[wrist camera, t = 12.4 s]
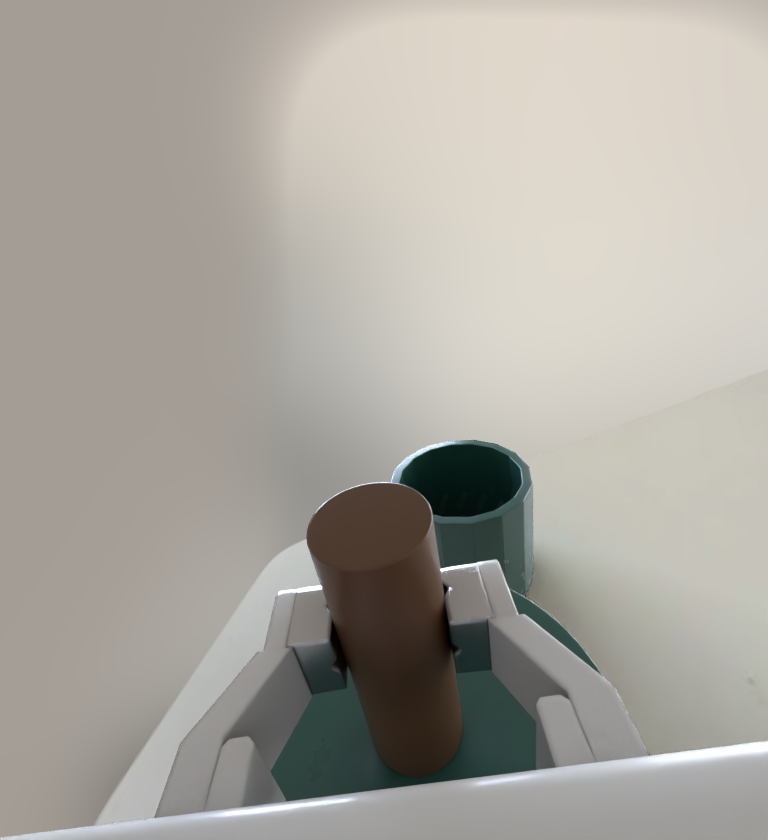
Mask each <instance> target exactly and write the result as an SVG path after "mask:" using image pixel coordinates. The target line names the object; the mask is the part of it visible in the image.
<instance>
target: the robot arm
mask: <svg viewBox="0 0 768 840" xmlns="http://www.w3.org/2000/svg"><path fill="white" fill-rule="evenodd" d="M441 575H442V582H443V589H444V596H445V597H444V601H445V608H446V615H447V622H448V627H449V636H450V642H451V649H452V654H453V659H454V664H455V669H456V674H458V673H467V672H477V671H486V670H492V672H493V673H494V674H495V676H496V677H497V678H498V679H499V680H500V681H501V682H502V684H503V685H504V686H505V687H506V688H507V689H508V690H509V692H510V693H511V694H512V695H513V696H514V697H515V698H516V700H517V701H518V702H519V703H520V704H521V705H522V706H523V708H524V709H525V710H526V711H527V712H528V713H529V714H530V716H531V717H532V718H533V719H534V720H535V721H536V769H537V770H532V771H524V772H516V773H508V774H500V775H492V776H484V777H476V778H469V779H461V780H453V781H445V782H437V783H429V784H421V785H413V786H405V787H397V788H389V789H381V790H373V791H365V792H357V793H349V794H341V795H334V796H326V797H318V798H310V799H302V800H294V801H286V798H285V797H284V795H283V793H282V791H281V790H280V788H279V786H278V784H277V783H276V781H275V779H274V777H273V776H272V774H271V772H270V771H271V769H272V767H273V766H274V764H275V762H276V760H277V759H278V757H279V755H280V753H281V752H282V750H283V748H284V746H285V745H286V743H287V741H288V739H289V738H290V736H291V734H292V732H293V730H294V729H295V727H296V725H297V723H298V722H299V720H300V718H301V716H302V715H303V713H304V711H305V709H306V708H307V706H308V704H309V702H310V701H311V699H312V694H318V693H324V692H330V691H336V690H342V689H347V671H348V665H347V662H346V659H345V656H344V653H343V650H342V647H341V644H340V641H339V638H338V635H337V632H336V629H335V626H334V623H333V620H332V617H331V614H330V611H329V608H328V605H327V602H326V599H325V596H324V593H323V590H322V587H321V586H316V587H308V588H299V589H294V590H286V591H279V593H278V594H277V596H276V598H275V603H274V607H273V611H272V616H271V620H270V624H269V628H268V633H267V637H266V641H265V646H264V650H263V651H260V652H257V653H256V654H255V655H254V657H253V658H252V659H251V660H250V661H249V662H248V664H247V665H246V666H245V667H244V668H243V670H242V671H241V672H240V673H239V674H238V675H237V677H236V678H235V679H234V680H233V681H232V683H231V684H230V685H229V686H228V687H227V688H226V690H225V691H224V692H223V693H222V694H221V696H220V697H219V698H218V699H217V700H216V701H215V703H214V704H213V705H212V706H211V707H210V709H209V710H208V711H207V712H206V713H205V714H204V716H203V717H202V718H201V719H200V720H199V722H198V723H197V724H196V725H195V726H194V728H193V729H192V730H191V731H190V732H189V733H188V735H187V736H186V737H185V738H184V739H183V741H182V742H181V743H180V745H179V748H178V751H177V754H176V757H175V760H174V763H173V766H172V768H171V771H170V774H169V777H168V780H167V783H166V786H165V788H164V791H163V794H162V797H161V800H160V803H159V806H158V809H157V811H156V814H155V817H154V818H152V819H144V820H136V821H128V822H120V823H112V824H104V825H96V826H88V827H80V828H73V829H65V830H57V831H49V832H42V833H34V834H26V835H17V836H9V837H1V838H0V840H768V741H762V742H754V743H746V744H738V745H731V746H723V747H715V748H707V749H699V750H691V751H683V752H675V753H667V754H660V755H652V756H650V754H649V752H648V751H647V749H646V747H645V745H644V743H643V741H642V739H641V737H640V735H639V733H638V731H637V729H636V727H635V725H634V723H633V721H632V719H631V717H630V715H629V713H628V711H627V709H626V708H625V706H624V704H623V702H622V700H621V698H620V696H619V694H618V692H617V690H616V688H615V686H614V685H613V684H611V683H610V682H609V681H608V680H606V679H605V678H604V677H603V676H601V675H600V674H599V673H598V672H596V671H595V670H594V669H593V668H591V667H590V666H589V665H588V664H586V663H585V662H584V661H583V660H581V659H580V658H579V657H578V656H576V655H575V654H574V653H573V652H572V651H570V650H569V649H568V648H567V647H565V646H564V645H563V644H562V643H560V642H559V641H558V640H557V639H555V638H554V637H553V636H552V635H550V634H549V633H548V632H547V631H545V630H544V629H543V628H542V627H540V626H539V625H538V624H537V623H535V622H534V621H533V620H532V619H530V618H529V617H528V616H527V615H525V614H519V615H518V612H517V609H516V607H515V604H514V601H513V599H512V596H511V593H510V591H509V588H508V585H507V583H506V580H505V577H504V574H503V572H502V569H501V566H500V564H499V562H498V561H497V560H496V559H495V560H489V561H482V562H477V563H476V562H475V563H468V564H462V565H456V566H450V567H443V568H441ZM285 801H286V802H285Z"/></svg>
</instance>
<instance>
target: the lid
mask: <svg viewBox="0 0 768 840" xmlns="http://www.w3.org/2000/svg"><path fill="white" fill-rule="evenodd" d="M306 539H307V545H308V548H309V551H310V554H311V557H312V560H313V563H314V566H315V569H316V572H317V575H318V578H319V581H320V584H321V587H322V590H323V593H324V596H325V599H326V602H327V605H328V608H329V611H330V614H331V617H332V620H333V623H334V626H335V629H336V632H337V635H338V638H339V641H340V644H341V647H342V650H343V653H344V656H345V659H346V662H347V665H348V671H347V689H342V690H336V691H330V692H324V693H318V694H312V699H311V701H310V702H309V704H308V706H307V708H306V709H305V711H304V713H303V715H302V716H301V718H300V720H299V722H298V723H297V725H296V727H295V729H294V730H293V732H292V734H291V736H290V738H289V739H288V741H287V743H286V745H285V746H284V748H283V750H282V752H281V753H280V755H279V757H278V759H277V760H276V762H275V764H274V766H273V767H272V769H271V771H270V772H271V774H272V776H273V777H274V779H275V781H276V783H277V784H278V786H279V788H280V790H281V791H282V793H283V795H284V797H285V798H286V801H294V800H302V799H310V798H318V797H326V796H334V795H341V794H349V793H357V792H365V791H373V790H381V789H389V788H397V787H405V786H413V785H421V784H429V783H437V782H445V781H453V780H461V779H469V778H476V777H484V776H492V775H500V774H508V773H516V772H524V771H532V770H537V769H536V721H535V720H534V719H533V718H532V717H531V716H530V714H529V713H528V712H527V711H526V710H525V709H524V708H523V706H522V705H521V704H520V703H519V702H518V701H517V700H516V698H515V697H514V696H513V695H512V694H511V693H510V692H509V690H508V689H507V688H506V687H505V686H504V685H503V684H502V682H501V681H500V680H499V679H498V678H497V677H496V676H495V674H494V673H493V672H492V670H486V671H477V672H467V673H458V674H456V669H455V664H454V659H453V654H452V649H451V642H450V636H449V627H448V622H447V615H446V608H445V601H444V597H445V596H444V589H443V582H442V575H441V568H440V561H439V554H438V548H437V541H436V534H435V527H434V520H433V513H432V509H431V506H430V505H429V503H428V501H427V500H426V499H425V498H424V496H423V495H421V494H420V493H419V492H418V491H416V490H414V489H412V488H410V487H408V486H405V485H401V484H397V483H388V482H377V483H368V484H363V485H359V486H356V487H352V488H350V489H347V490H345V491H343V492H341V493H339V494H337V495H335V496H333V497H332V498H331V499H329V500H328V501H327V502H325V503H324V504H323V505H322V506H321V507H320V508H319V509H318V510H317V511H316V513H315V514H314V515H313V517H312V519H311V521H310V523H309V525H308V530H307V538H306ZM509 591H510V593H511V596H512V599H513V601H514V604H515V607H516V609H517V612H518V615H519V614H525V615H527V616H528V617H529V618H530V619H532V620H533V621H534V622H535V623H537V624H538V625H539V626H540V627H542V628H543V629H544V630H545V631H547V632H548V633H549V634H550V635H552V636H553V637H554V638H555V639H557V640H558V641H559V642H560V643H562V644H563V645H564V646H565V647H567V648H568V649H569V650H570V651H572V652H573V653H574V654H575V655H576V656H578V657H579V658H580V659H581V660H583V661H584V662H585V663H586V664H588V665H589V666H590V667H591V668H593V669H594V670H595V671H596V672H598V673H599V674H600V675H601V676H603V675H602V674H601V672H600V670H599V669H598V667H597V666H596V664H595V663H594V662H593V660H592V659H591V658H590V656H589V655H588V654H587V652H586V651H585V650H584V649H583V647H582V646H581V645H580V644H579V642H578V641H577V640H576V639H575V638H574V637H573V636H572V635H571V634H570V633H569V632H568V631H567V630H566V629H565V628H564V627H563V626H562V625H561V624H560V623H559V622H558V621H557V620H555V619H554V618H553V617H552V616H551V615H550V614H548V613H547V612H546V611H545V610H543V609H542V608H541V607H539V606H538V605H536V604H535V603H533V602H532V601H530V600H529V599H528V598H526V597H524V596H522V595H520V594H519V593H517V592H515V591H513V590H511V589H510V588H509ZM286 801H285V802H286Z"/></svg>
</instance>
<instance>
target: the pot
mask: <svg viewBox="0 0 768 840" xmlns="http://www.w3.org/2000/svg"><path fill="white" fill-rule="evenodd" d="M391 483H397V484H401V485H405V486H408V487H410V488H412V489H414V490H416V491H418V492H419V493H420V494H421V495H423V496H424V498H425V499H426V500H427V501H428V503H429V505H430V506H431V509H432V513H433V520H434V527H435V534H436V541H437V548H438V554H439V561H440V568H443V567H450V566H456V565H462V564H468V563H475V562H476V563H477V562H482V561H489V560H495V559H496V560H497V561H498V562H499V564H500V566H501V569H502V572H503V574H504V577H505V580H506V583H507V585H508V588H510V589H511V590H513V591H515V592H517V593H519V594H520V595H522V596H524V595H525V594H526V592H527V591H528V589H529V586H530V583H531V579H532V575H533V482H532V476H531V471H530V467H529V466H528V465H527V464H526V463H525V462H524V461H523V459H522V458H521V457H520V456H519V455H518V454H516V453H515V452H513V451H511V450H509V449H507V448H504V447H502V446H500V445H498V444H494V443H488V442H483V441H477V440H464V441H448V442H444V443H440V444H436V445H432V446H428V447H425V448H423V449H421V450H419V451H417V452H416V453H414V454H412V455H410V456H408V457H407V458H406V459H405V460H404V461H403V462H402V463H401V464H400V465H399V466H398V467H397V468H396V469H395V471H394V474H393V477H392V481H391Z"/></svg>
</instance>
